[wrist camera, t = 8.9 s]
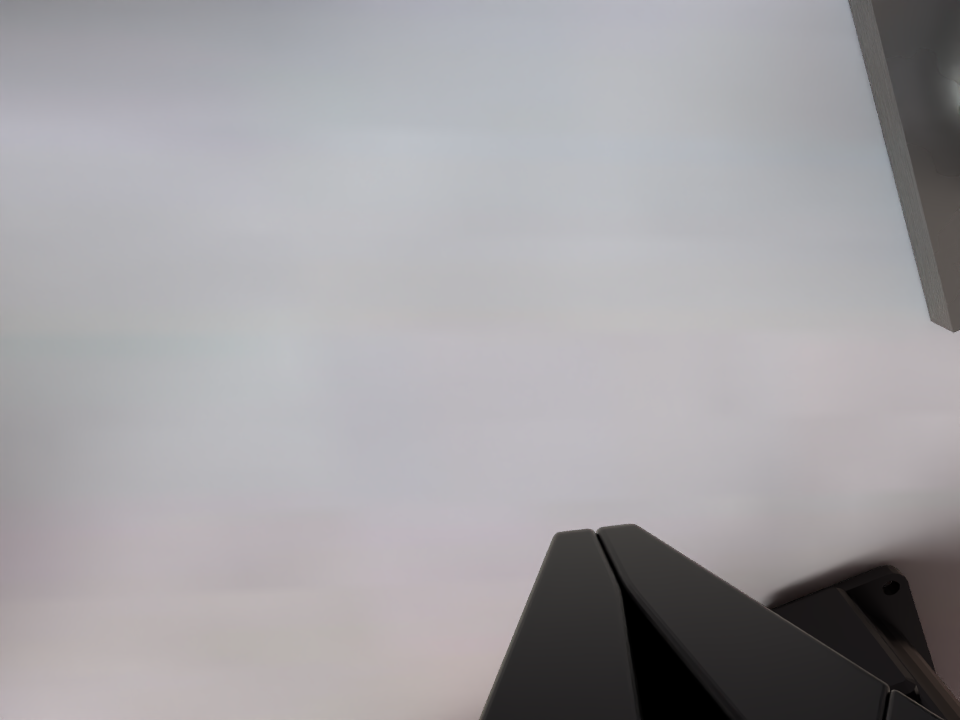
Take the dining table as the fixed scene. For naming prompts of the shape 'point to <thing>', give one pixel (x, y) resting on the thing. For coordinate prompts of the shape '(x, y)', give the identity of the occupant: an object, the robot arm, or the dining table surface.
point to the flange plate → (921, 130)
